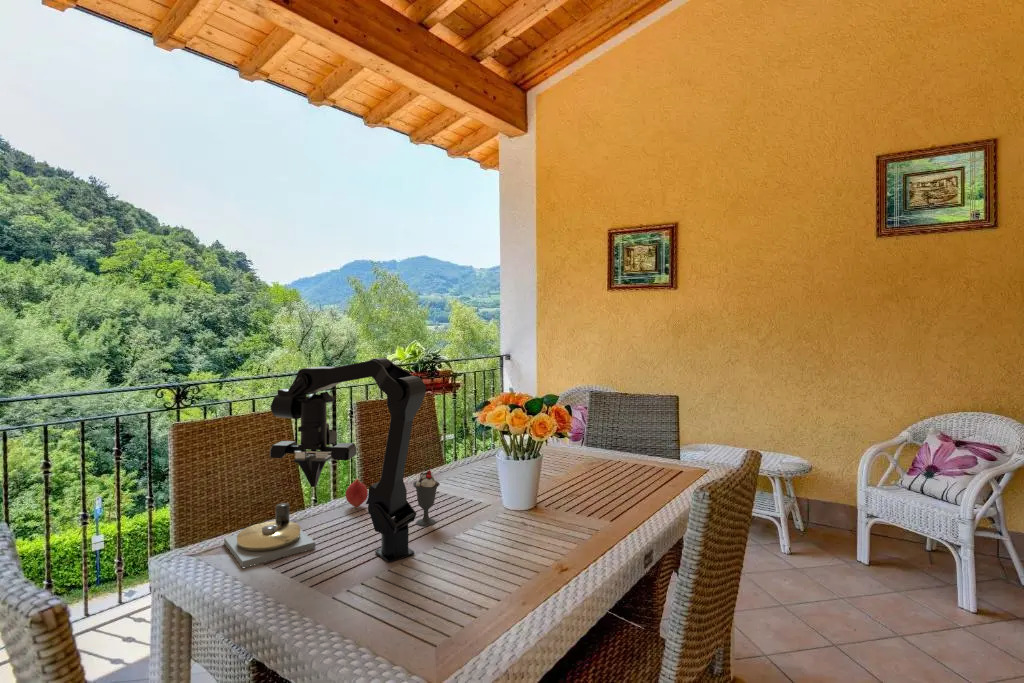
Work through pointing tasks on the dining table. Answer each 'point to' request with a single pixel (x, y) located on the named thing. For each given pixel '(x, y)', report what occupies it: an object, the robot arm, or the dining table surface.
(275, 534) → the handwheel
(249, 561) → the base plate
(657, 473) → the dining table surface
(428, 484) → the sundae
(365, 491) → the onion
